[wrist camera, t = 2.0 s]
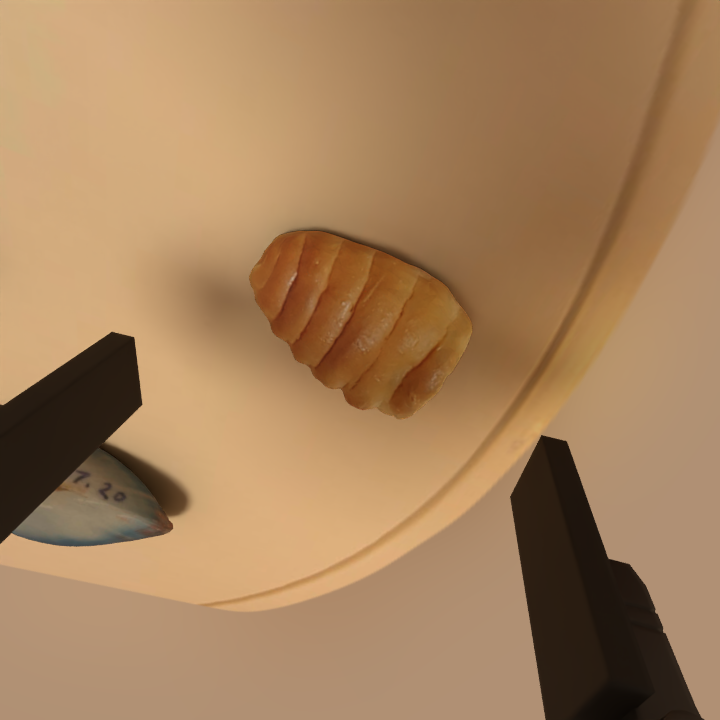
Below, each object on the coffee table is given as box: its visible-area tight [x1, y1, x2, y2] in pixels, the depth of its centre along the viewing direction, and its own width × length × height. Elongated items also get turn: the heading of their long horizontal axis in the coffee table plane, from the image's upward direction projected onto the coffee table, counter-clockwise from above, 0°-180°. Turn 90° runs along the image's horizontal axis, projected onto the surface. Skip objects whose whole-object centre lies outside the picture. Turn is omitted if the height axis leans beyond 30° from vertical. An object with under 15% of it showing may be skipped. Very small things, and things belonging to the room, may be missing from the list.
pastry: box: [249, 231, 472, 419], centre depth 19 cm, size 9×7×4 cm
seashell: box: [12, 448, 173, 547], centre depth 27 cm, size 6×9×10 cm
